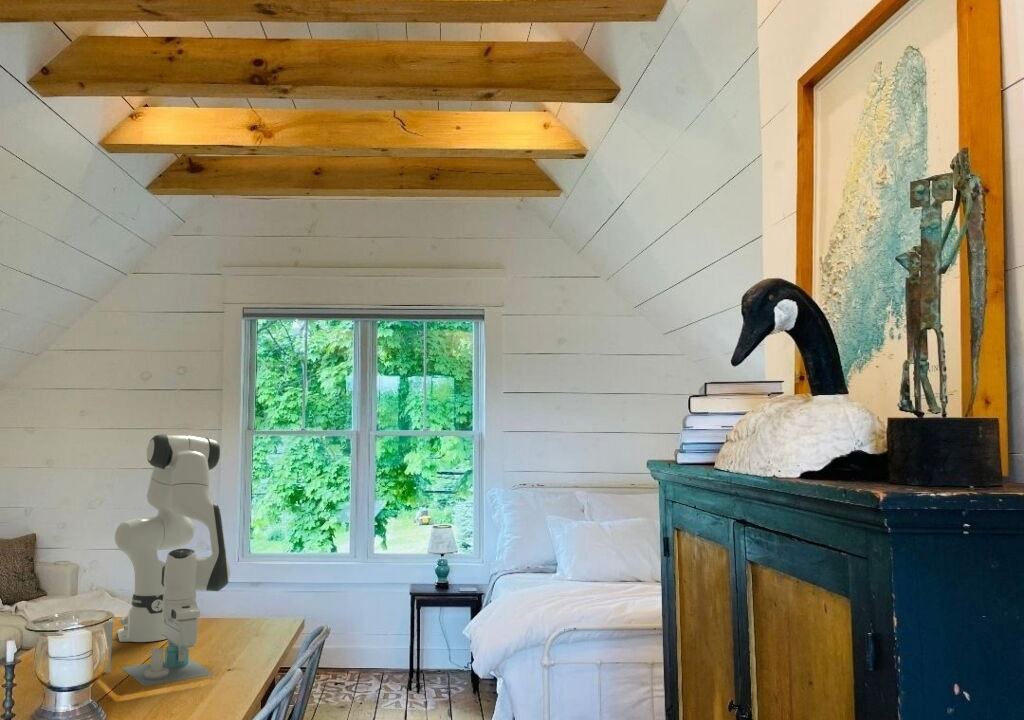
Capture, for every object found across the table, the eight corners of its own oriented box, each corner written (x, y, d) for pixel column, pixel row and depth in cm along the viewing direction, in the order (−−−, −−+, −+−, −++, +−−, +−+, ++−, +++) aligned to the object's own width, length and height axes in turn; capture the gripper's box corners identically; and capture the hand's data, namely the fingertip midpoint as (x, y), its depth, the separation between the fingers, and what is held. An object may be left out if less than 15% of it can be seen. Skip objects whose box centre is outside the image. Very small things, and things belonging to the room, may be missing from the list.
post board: (121, 672, 225) (122, 641, 226) (187, 661, 236) (188, 632, 237) (143, 691, 208) (145, 658, 209) (213, 678, 219) (215, 647, 220)
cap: (162, 663, 229) (163, 646, 229) (183, 660, 233) (184, 643, 233) (168, 668, 224) (169, 650, 225) (190, 664, 228) (191, 647, 229)
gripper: (156, 603, 236) (154, 652, 235) (178, 615, 220) (176, 667, 219) (178, 601, 240) (176, 648, 239) (202, 612, 224) (200, 663, 223)
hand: (176, 658), depth 229 cm, fingers closed on cap, 6 cm apart
